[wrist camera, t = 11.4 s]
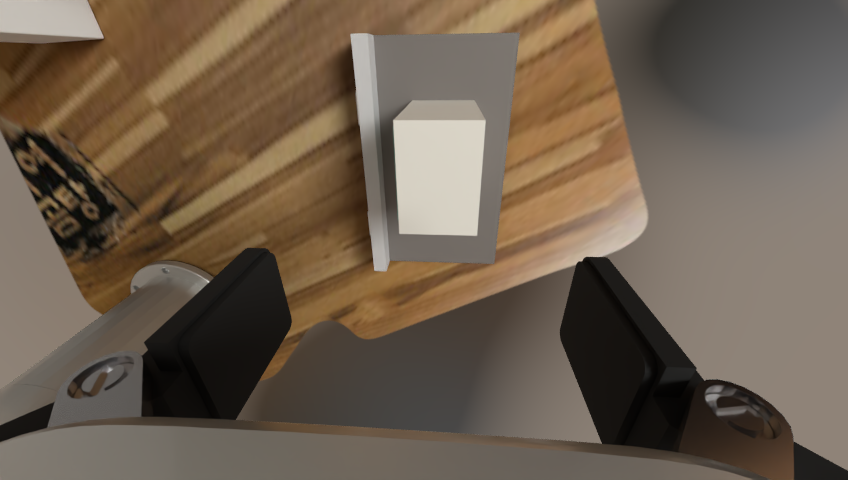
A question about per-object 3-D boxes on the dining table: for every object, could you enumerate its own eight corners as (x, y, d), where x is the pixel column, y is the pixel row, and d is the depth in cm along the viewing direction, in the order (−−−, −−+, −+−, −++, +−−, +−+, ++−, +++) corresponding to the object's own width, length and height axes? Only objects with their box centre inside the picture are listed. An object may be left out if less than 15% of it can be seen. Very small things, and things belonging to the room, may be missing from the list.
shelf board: (492, 256, 35) (496, 274, 32) (379, 252, 36) (372, 270, 33) (516, 34, 25) (524, 30, 22) (359, 36, 26) (347, 33, 23)
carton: (469, 183, 30) (477, 235, 21) (412, 183, 30) (395, 233, 21) (474, 100, 26) (485, 120, 18) (409, 100, 27) (389, 120, 18)
